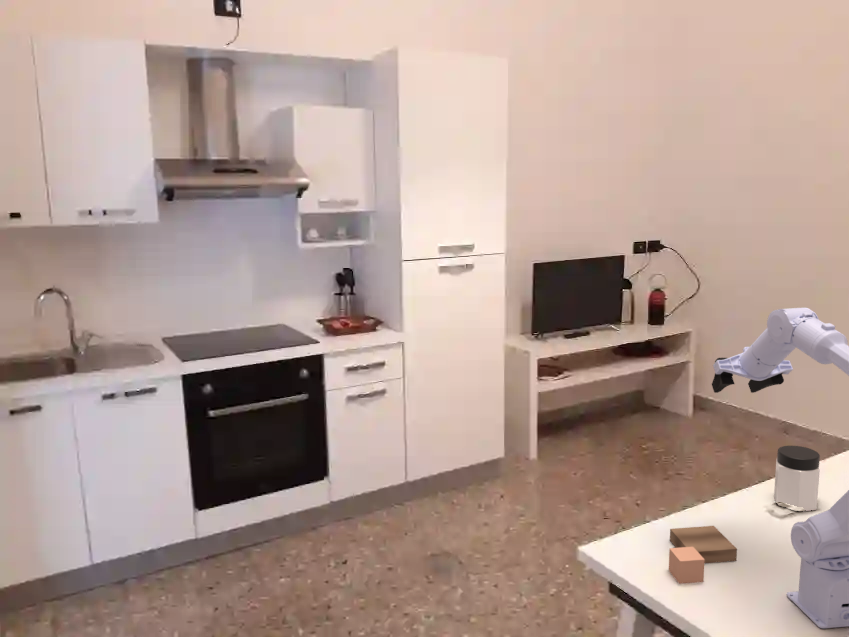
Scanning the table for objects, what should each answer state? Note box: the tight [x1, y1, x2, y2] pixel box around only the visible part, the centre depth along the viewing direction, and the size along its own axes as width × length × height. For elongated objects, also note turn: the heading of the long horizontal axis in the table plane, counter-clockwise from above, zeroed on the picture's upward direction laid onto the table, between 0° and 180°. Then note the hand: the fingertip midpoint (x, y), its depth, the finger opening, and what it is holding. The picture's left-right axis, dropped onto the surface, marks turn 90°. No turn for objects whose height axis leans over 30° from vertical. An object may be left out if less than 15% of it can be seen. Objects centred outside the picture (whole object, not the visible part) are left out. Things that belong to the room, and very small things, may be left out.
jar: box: [773, 445, 821, 512], centre depth 151 cm, size 9×8×12 cm
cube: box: [668, 547, 706, 585], centre depth 126 cm, size 4×4×4 cm
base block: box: [669, 525, 738, 564], centre depth 134 cm, size 9×9×2 cm
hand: (732, 388), depth 137 cm, fingers open, 7 cm apart
